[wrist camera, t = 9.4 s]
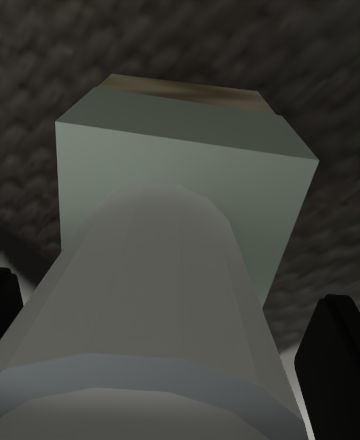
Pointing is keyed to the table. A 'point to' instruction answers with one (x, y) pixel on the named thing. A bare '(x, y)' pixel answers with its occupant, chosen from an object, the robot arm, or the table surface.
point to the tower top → (187, 165)
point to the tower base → (189, 92)
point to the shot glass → (146, 333)
